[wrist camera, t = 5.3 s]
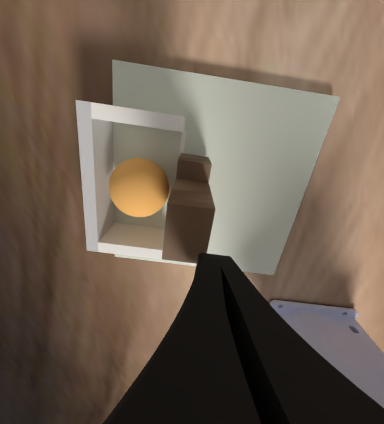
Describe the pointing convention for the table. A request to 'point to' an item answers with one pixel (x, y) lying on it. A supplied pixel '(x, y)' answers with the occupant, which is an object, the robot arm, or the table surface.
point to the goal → (100, 175)
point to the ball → (138, 187)
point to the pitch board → (227, 152)
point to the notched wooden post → (189, 211)
